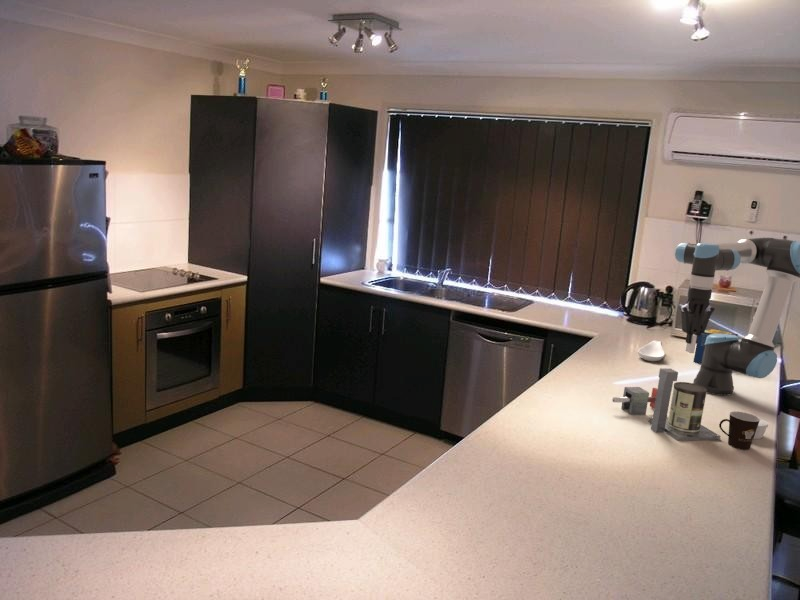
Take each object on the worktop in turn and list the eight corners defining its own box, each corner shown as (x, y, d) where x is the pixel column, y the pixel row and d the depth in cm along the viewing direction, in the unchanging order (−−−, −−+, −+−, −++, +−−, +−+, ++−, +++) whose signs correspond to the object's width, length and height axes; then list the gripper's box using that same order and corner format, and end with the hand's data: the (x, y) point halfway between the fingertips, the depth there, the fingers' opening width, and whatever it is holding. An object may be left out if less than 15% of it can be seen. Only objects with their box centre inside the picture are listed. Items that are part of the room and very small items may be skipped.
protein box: (697, 358, 320) (703, 327, 317) (732, 365, 311) (738, 334, 308) (692, 362, 312) (698, 330, 309) (728, 370, 303) (734, 337, 300)
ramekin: (764, 432, 227) (767, 418, 226) (766, 443, 217) (769, 428, 216) (728, 425, 232) (730, 410, 231) (728, 435, 222) (731, 420, 221)
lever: (652, 405, 243) (655, 387, 242) (666, 414, 236) (669, 395, 234) (606, 406, 238) (609, 387, 237) (618, 414, 231) (621, 395, 229)
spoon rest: (660, 365, 302) (663, 350, 301) (634, 360, 308) (636, 345, 306) (669, 355, 322) (671, 340, 321) (644, 350, 328) (646, 336, 326)
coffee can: (696, 423, 227) (703, 384, 224) (703, 434, 217) (710, 393, 214) (664, 418, 229) (671, 379, 226) (670, 429, 219) (677, 389, 216)
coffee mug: (751, 443, 216) (757, 414, 214) (756, 453, 208) (762, 423, 206) (712, 436, 220) (718, 407, 218) (715, 445, 212) (721, 416, 210)
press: (666, 408, 244) (676, 353, 239) (720, 439, 217) (731, 378, 213) (620, 408, 239) (628, 352, 235) (668, 440, 212) (679, 378, 208)
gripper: (709, 285, 238) (698, 349, 242) (677, 284, 234) (667, 349, 239) (723, 290, 230) (712, 355, 235) (691, 289, 227) (680, 355, 232)
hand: (689, 351), depth 237 cm, fingers closed
